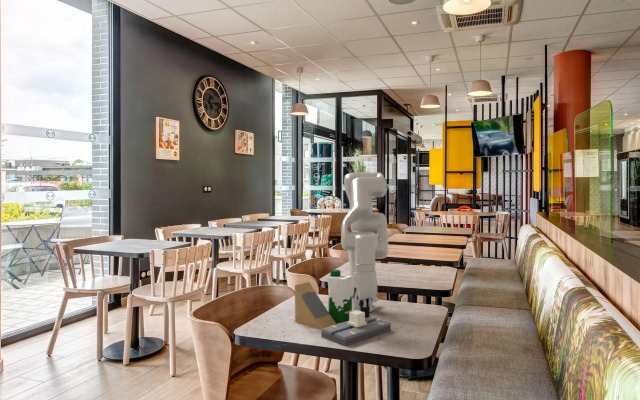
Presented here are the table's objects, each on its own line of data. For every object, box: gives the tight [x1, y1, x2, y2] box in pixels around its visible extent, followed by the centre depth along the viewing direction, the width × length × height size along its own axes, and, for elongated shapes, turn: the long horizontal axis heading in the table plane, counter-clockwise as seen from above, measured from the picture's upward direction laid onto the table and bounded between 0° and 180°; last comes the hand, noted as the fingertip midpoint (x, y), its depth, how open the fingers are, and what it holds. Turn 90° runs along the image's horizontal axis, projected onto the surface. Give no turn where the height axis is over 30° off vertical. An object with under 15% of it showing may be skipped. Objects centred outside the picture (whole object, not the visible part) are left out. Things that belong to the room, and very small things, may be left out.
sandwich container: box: [294, 281, 337, 330], centre depth 179 cm, size 9×15×15 cm, turn 48°
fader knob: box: [347, 310, 367, 328], centre depth 167 cm, size 5×5×6 cm
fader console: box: [320, 316, 392, 347], centre depth 167 cm, size 24×12×3 cm, turn 131°
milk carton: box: [326, 269, 352, 324], centre depth 182 cm, size 9×9×20 cm
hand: (364, 316), depth 169 cm, fingers closed
